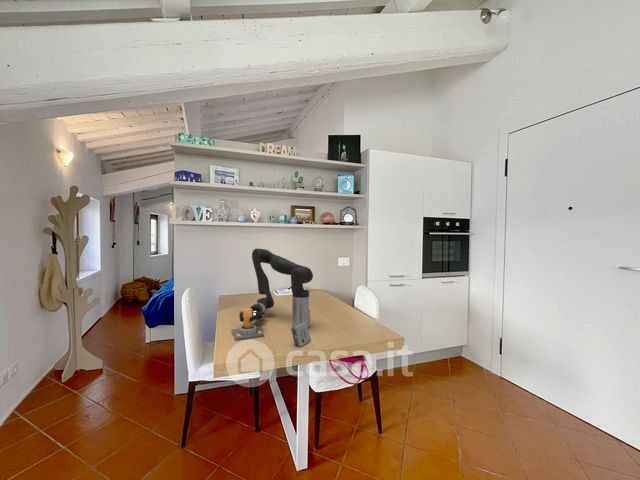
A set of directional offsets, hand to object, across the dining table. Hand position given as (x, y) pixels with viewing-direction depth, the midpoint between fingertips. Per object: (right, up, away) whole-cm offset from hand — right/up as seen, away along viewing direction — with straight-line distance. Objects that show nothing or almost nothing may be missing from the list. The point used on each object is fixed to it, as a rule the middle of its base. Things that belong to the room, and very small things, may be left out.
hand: (245, 319), depth 138 cm
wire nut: (0, -6, +3) cm, 7 cm away
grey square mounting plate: (0, -8, +3) cm, 9 cm away
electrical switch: (+28, -9, -8) cm, 31 cm away
